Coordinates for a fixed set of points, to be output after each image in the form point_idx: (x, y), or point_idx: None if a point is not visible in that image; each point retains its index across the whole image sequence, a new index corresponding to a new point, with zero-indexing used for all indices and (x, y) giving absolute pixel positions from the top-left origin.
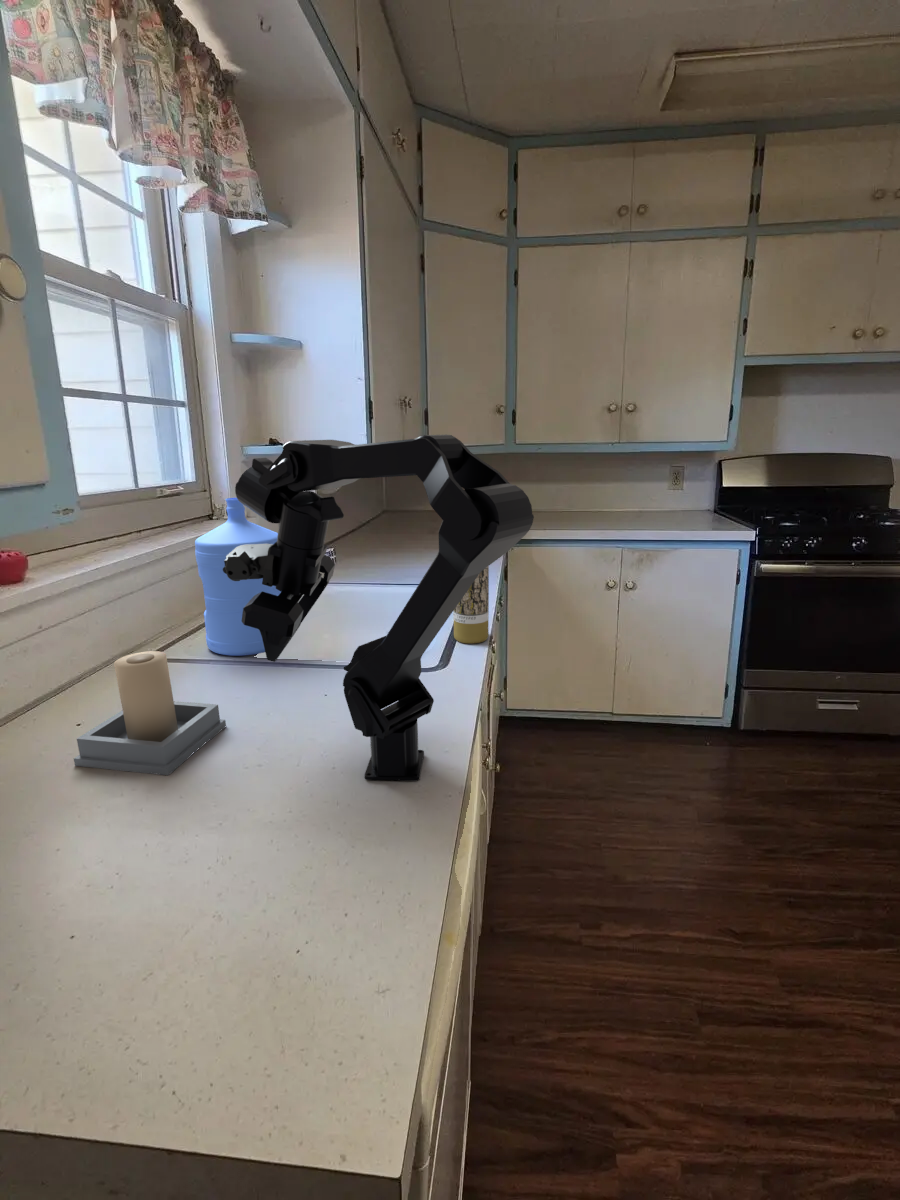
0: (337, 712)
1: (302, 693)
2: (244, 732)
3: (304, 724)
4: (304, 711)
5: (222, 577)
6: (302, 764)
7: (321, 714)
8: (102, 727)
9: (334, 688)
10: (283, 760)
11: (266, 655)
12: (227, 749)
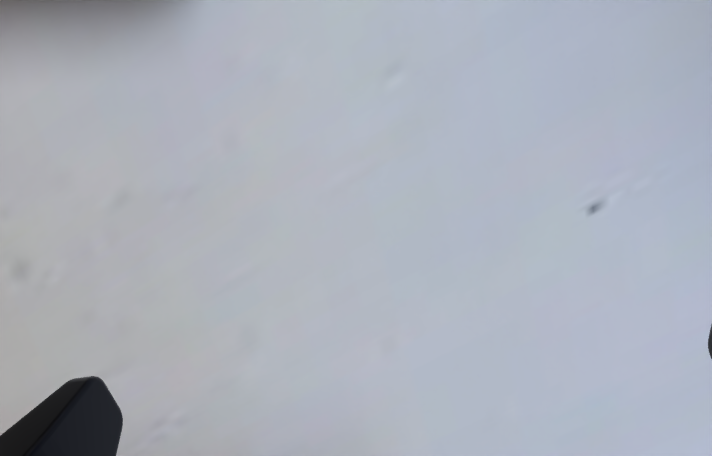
0: (461, 321)
1: (597, 105)
2: (218, 65)
3: (343, 257)
4: (443, 200)
5: None
6: None
7: (433, 275)
8: None
9: (658, 209)
10: (81, 326)
11: (25, 419)
12: (74, 82)
